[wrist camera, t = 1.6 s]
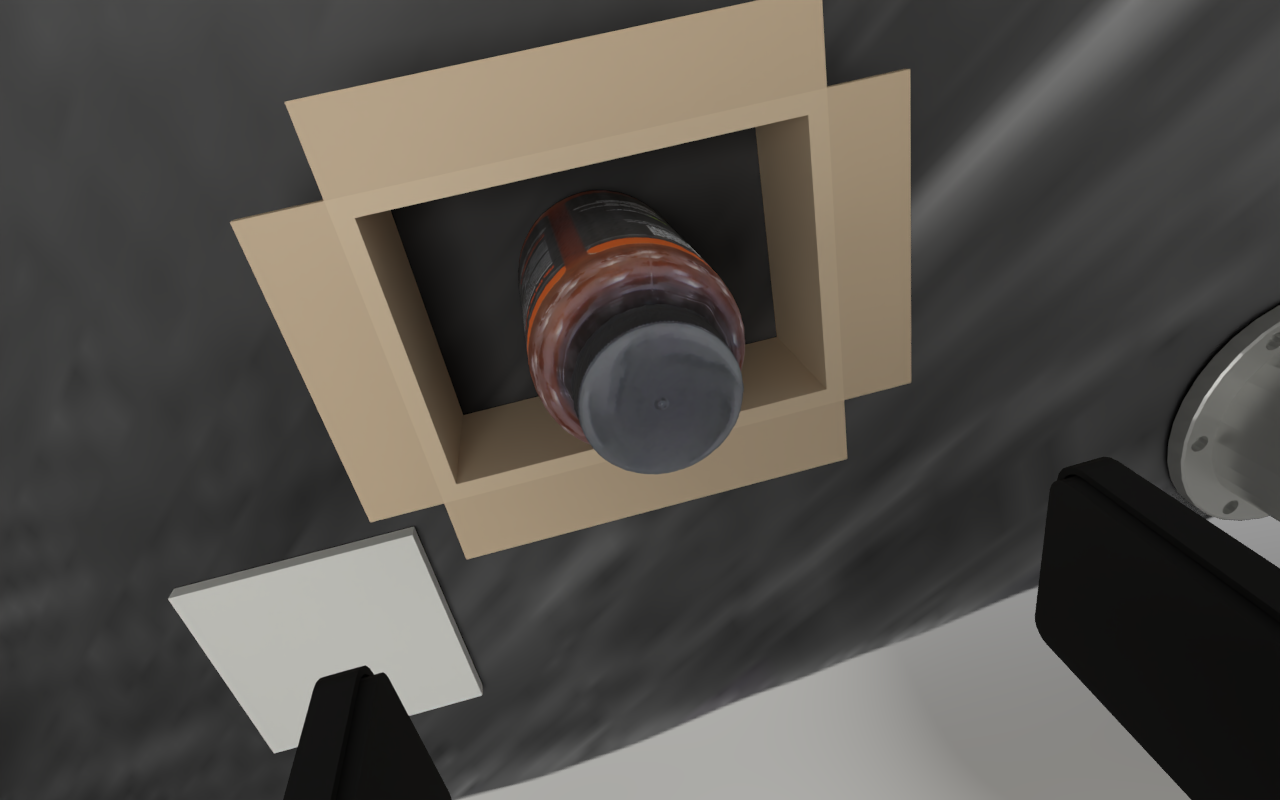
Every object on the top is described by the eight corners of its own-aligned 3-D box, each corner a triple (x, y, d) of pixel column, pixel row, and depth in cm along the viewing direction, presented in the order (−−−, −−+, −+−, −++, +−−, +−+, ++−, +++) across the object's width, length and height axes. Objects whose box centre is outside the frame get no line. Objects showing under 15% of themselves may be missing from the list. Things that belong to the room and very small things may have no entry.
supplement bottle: (532, 354, 27) (551, 532, 17) (502, 198, 24) (504, 302, 14) (682, 329, 28) (784, 487, 18) (670, 175, 25) (782, 259, 15)
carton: (832, -18, 23) (909, -33, 19) (851, 384, 30) (911, 441, 26) (247, 108, 22) (183, 123, 17) (412, 497, 29) (396, 577, 25)
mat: (414, 526, 30) (412, 535, 29) (482, 685, 34) (482, 695, 34) (173, 588, 29) (168, 598, 28) (277, 742, 34) (274, 753, 33)
